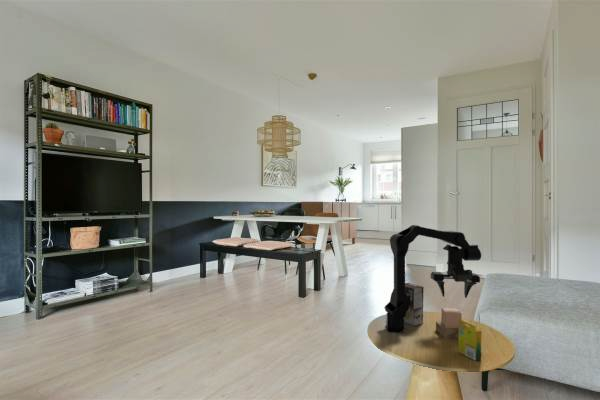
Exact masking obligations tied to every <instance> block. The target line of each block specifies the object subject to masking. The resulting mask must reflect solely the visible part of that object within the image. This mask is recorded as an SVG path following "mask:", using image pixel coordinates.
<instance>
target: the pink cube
mask: <svg viewBox="0 0 600 400" xmlns="http://www.w3.org/2000/svg"><path fill="white" fill-rule="evenodd" d="M440 316H441V317H440V319H441V320H440V322H441V323H442V324H443V325H444V326H445V328H458V329H459V320H461V321H462V313H461V312H460V310H458V308H453V307H452V308H450V307H446V308H445V307H441V315H440Z"/></svg>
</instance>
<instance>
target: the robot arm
mask: <svg viewBox="0 0 600 400" xmlns="http://www.w3.org/2000/svg"><path fill="white" fill-rule="evenodd" d="M419 236H423V237H427V238H432V239H437V240H440V241H442V242H445V243H447V244H446V245H445V246H444V247H442V250H444V251H447V261H446V265H447V271H446V274H445V273H442V272H441V271H431V273H430V279H432V280H433V281H434V282H436V283H437V285H438V288H439V290H440V293H441V296H442V297H443V298H444V297H445V281H444V280H454V282H457V283H460V282H461V283H462V282H463V283H464V286H463V287H464V289H463V292H464V293H463V294H464V298H465V299H467V298H468V295H469V293H470V291H471V289H472V287H473V286H474V285H477V283H481V278H480V276H479V275H478V274H477V273H473V270H471V269H465V267H464V264H463V260H464V261H465V262H466V261H471V262H472V261H473V262H475V261H477V262H478V261H480V260H481V259H482V253H481V252H482V251H481V249H480V248H479V245H478V244H469V242H468V241H467V239H466V236H465V233H464V232H461V231H454V230H437V229H433V228H428V227H424V226H423V227H422V226H420V225H416V224H412V225H410V226H408V228H407V227H406V228H405V229H404V230H401V231H399V232H397V233H394V234H392V236H390V238H389V244H390V249H391V252H392V254H393V290H392V291H391V294H390V299H389V302H388V303H387V304H386V305H385V306H384V310H385V312H386V320H385V321H386V325H385V328H386V330H387V332H390V333H405V322H404V317H405V314H406V312H407V311H408V310H409V305H410V306H411V304H410V298H411V297H410V295H409V294H407V293H406V291H405V283H406V255H407V254H408V252H409V249H410V248H409V247H410V244H411V243H412V242H414V241H415V240H416V239H417V237H419ZM452 245H453V246H452ZM459 247H460V248H459Z"/></svg>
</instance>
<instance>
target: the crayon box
mask: <svg viewBox="0 0 600 400" xmlns="http://www.w3.org/2000/svg"><path fill="white" fill-rule="evenodd" d="M458 353H460V354H462V355H463V356H466V357H467V358H470V359H472V360H473V361H479V360H482V330H479V329H477V327H476V325H473V324H471V323H469V322H466V321H463V320H462V319H461V320H459V339H458Z"/></svg>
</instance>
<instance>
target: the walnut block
mask: <svg viewBox="0 0 600 400" xmlns="http://www.w3.org/2000/svg"><path fill="white" fill-rule="evenodd" d="M435 331H436V332H437V333H438V334H440V335H441V336H442V338H444V339H445V340H459V329H458V328H445V326H444V325H443V324H442V323H441V321H435Z"/></svg>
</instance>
